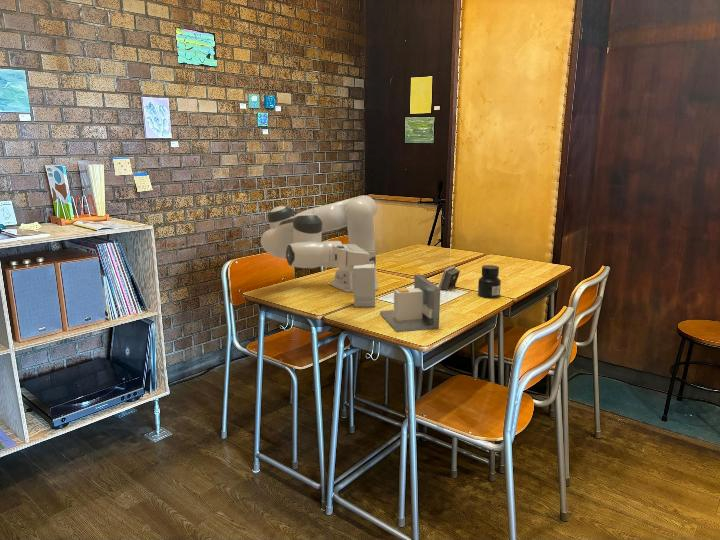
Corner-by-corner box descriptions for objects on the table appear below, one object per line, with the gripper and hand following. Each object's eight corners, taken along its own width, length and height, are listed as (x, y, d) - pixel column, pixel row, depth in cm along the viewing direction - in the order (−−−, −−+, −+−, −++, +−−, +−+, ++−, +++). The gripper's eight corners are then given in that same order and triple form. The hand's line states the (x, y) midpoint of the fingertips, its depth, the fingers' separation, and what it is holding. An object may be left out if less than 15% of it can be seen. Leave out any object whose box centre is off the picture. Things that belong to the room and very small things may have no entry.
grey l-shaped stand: (396, 331, 183) (397, 291, 179) (380, 313, 202) (380, 276, 198) (438, 328, 186) (440, 288, 183) (418, 310, 205) (419, 274, 202)
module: (397, 320, 190) (398, 291, 188) (393, 316, 195) (394, 288, 192) (422, 318, 193) (422, 289, 190) (417, 315, 197) (418, 286, 194)
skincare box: (375, 302, 215) (375, 263, 212) (375, 307, 209) (375, 267, 205) (353, 302, 216) (353, 263, 212) (353, 307, 209) (353, 267, 205)
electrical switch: (447, 285, 241) (450, 264, 238) (458, 288, 238) (461, 267, 235) (437, 289, 233) (440, 269, 231) (448, 293, 231) (451, 271, 228)
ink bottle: (498, 299, 219) (500, 270, 216) (476, 297, 222) (477, 268, 219) (501, 293, 228) (503, 265, 225) (479, 291, 231) (481, 263, 228)
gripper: (329, 257, 195) (367, 256, 198) (342, 269, 175) (383, 268, 179) (329, 240, 193) (367, 239, 197) (342, 249, 174) (384, 248, 177)
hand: (375, 253), depth 188 cm, fingers closed
